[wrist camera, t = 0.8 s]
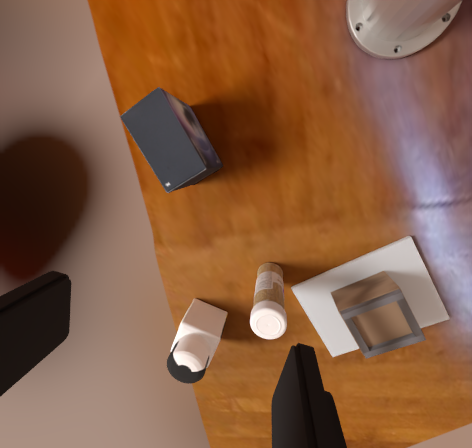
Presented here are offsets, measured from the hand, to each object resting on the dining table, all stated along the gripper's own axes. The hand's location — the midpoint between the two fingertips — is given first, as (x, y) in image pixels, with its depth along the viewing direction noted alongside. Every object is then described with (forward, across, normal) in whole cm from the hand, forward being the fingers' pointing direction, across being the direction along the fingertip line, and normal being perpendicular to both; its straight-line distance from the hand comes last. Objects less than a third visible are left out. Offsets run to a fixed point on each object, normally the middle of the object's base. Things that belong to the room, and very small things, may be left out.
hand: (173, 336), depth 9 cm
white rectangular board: (+31, -24, +11) cm, 40 cm away
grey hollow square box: (+31, -24, +11) cm, 40 cm away
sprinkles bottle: (+31, -7, +11) cm, 34 cm away
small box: (+31, +10, -7) cm, 33 cm away
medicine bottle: (+32, +2, +24) cm, 40 cm away
